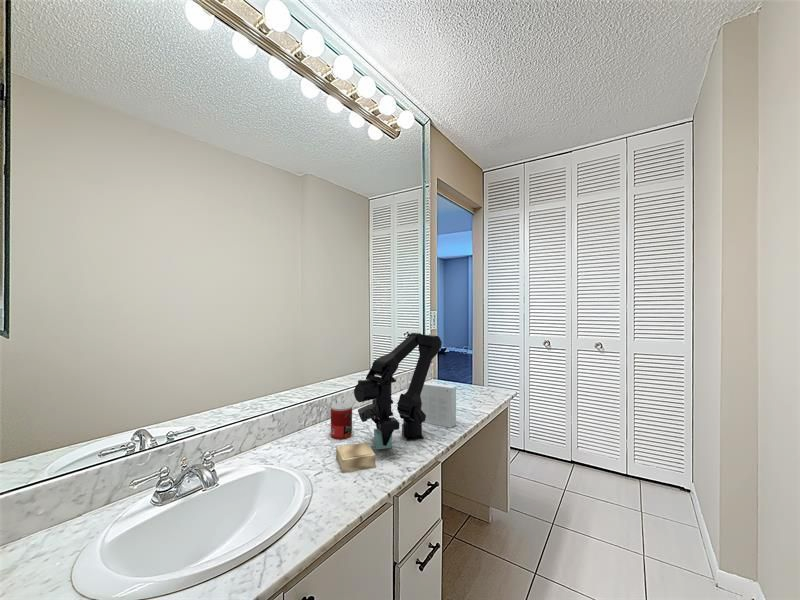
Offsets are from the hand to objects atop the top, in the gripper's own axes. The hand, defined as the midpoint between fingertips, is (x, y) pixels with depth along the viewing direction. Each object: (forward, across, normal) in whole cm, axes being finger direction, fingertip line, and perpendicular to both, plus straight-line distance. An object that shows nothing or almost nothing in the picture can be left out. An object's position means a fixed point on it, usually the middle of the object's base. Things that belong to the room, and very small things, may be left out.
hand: (382, 442), depth 114 cm
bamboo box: (+2, +8, -11) cm, 14 cm away
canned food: (+2, -15, -12) cm, 19 cm away
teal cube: (+1, 0, 0) cm, 1 cm away
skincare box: (+2, -19, +26) cm, 32 cm away
